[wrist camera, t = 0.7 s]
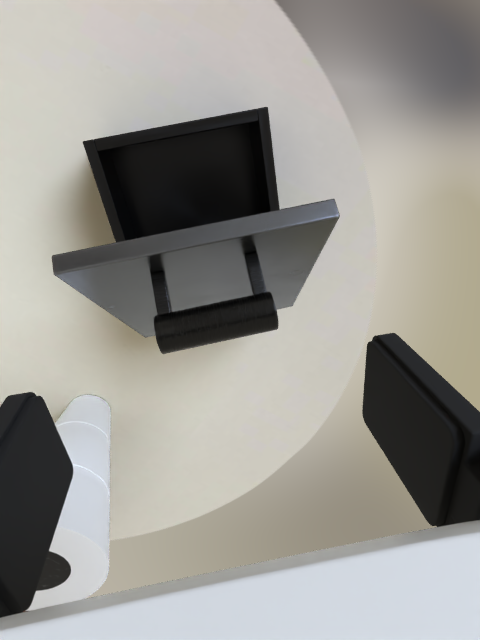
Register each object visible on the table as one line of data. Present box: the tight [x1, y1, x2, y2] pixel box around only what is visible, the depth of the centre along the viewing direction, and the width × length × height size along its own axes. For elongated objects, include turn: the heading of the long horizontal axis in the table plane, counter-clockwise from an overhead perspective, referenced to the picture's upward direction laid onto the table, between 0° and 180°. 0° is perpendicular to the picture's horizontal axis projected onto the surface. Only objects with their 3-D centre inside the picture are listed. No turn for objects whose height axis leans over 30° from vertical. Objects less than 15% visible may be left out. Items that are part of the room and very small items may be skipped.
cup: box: [25, 395, 111, 611], centre depth 35 cm, size 11×11×18 cm
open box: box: [83, 107, 279, 243], centre depth 33 cm, size 16×14×6 cm
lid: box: [52, 199, 340, 354], centre depth 25 cm, size 16×14×5 cm
